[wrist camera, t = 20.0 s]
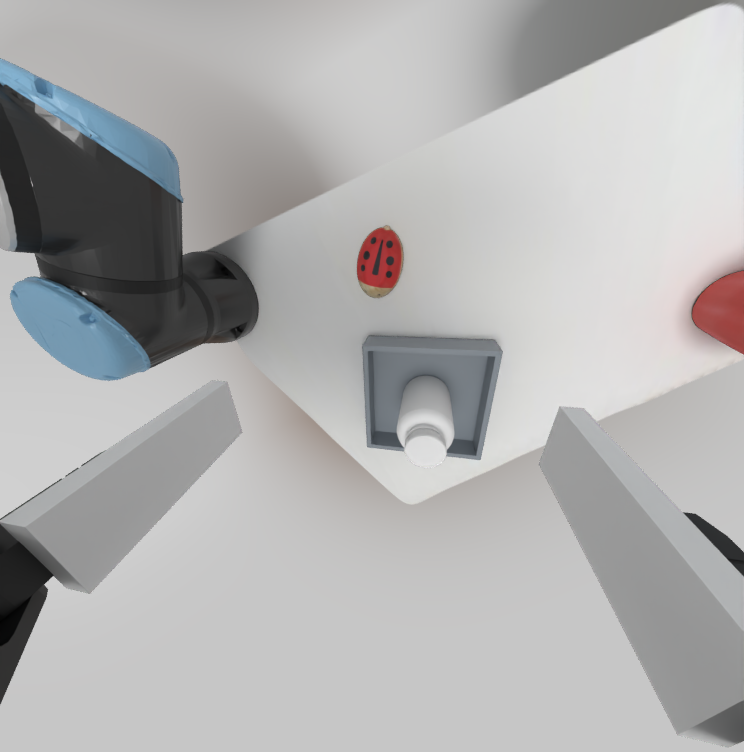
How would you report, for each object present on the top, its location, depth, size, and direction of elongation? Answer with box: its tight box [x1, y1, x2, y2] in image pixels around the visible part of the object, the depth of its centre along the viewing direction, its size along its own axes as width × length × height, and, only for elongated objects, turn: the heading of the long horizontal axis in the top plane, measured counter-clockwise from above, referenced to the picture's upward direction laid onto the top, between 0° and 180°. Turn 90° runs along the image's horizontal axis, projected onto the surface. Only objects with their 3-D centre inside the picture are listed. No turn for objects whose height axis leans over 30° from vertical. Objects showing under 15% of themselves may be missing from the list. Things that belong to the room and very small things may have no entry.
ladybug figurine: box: [357, 226, 403, 298], centre depth 38 cm, size 7×10×4 cm
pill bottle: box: [397, 375, 454, 468], centre depth 40 cm, size 8×8×15 cm
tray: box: [362, 336, 503, 460], centre depth 45 cm, size 20×20×5 cm
